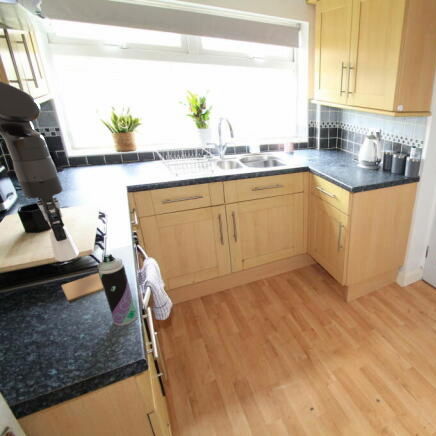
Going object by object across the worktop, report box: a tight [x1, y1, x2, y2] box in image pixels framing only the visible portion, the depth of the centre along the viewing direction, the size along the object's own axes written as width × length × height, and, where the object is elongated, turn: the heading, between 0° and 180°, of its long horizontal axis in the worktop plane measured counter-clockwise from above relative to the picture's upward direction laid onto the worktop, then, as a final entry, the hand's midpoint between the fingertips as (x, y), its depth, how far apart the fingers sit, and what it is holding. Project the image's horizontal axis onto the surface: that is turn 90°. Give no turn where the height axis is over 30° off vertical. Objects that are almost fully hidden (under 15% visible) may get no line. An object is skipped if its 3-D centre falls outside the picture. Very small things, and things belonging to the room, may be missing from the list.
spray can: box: [97, 253, 138, 327], centre depth 83 cm, size 6×6×20 cm
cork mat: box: [60, 272, 104, 302], centre depth 98 cm, size 12×10×1 cm
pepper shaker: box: [47, 221, 80, 263], centre depth 86 cm, size 5×5×11 cm
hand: (60, 236), depth 86 cm, fingers closed on pepper shaker, 4 cm apart
